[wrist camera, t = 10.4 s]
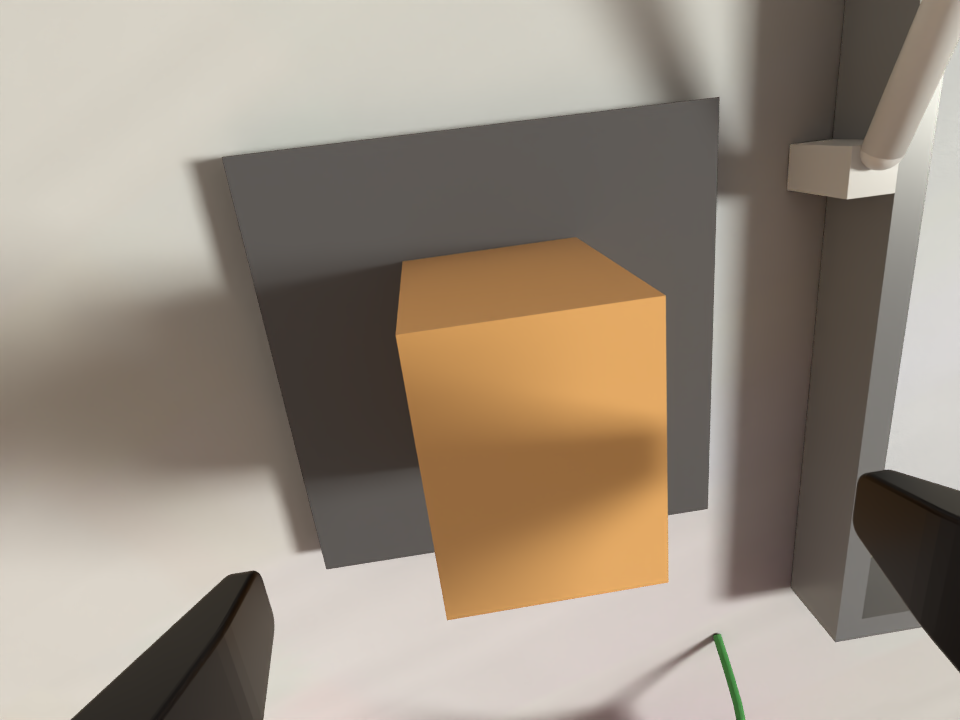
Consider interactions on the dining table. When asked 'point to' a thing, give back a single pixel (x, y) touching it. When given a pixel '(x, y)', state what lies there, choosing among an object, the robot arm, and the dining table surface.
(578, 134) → the rubber mat
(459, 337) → the block
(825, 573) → the case
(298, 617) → the dining table surface
